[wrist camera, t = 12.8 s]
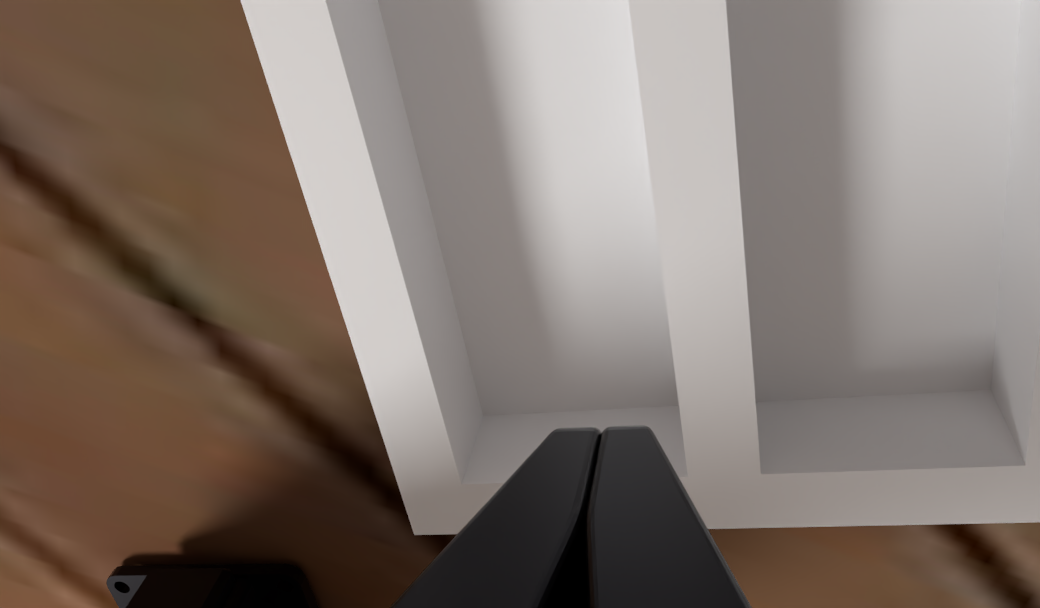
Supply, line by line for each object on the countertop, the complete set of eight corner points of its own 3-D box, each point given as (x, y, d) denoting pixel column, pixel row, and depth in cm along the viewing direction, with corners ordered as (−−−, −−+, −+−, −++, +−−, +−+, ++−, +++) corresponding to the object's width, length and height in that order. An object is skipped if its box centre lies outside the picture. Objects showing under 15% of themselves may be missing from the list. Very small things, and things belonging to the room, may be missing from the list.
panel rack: (1411, 411, 19) (1519, 512, 17) (443, 452, 24) (414, 534, 22) (1855, -840, 11) (2217, -1021, 8) (204, -380, 16) (109, -405, 13)
